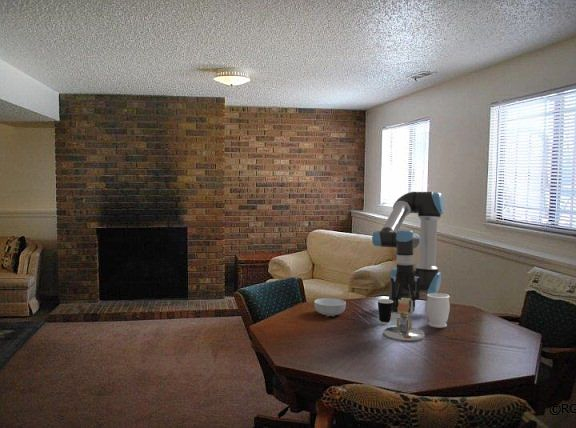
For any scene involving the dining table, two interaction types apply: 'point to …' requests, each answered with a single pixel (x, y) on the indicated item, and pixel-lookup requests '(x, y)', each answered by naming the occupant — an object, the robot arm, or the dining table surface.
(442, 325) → the jar
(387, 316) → the dixie cup
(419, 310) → the dining table surface
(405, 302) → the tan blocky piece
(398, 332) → the post base
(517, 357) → the dining table surface
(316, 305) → the cereal bowl
